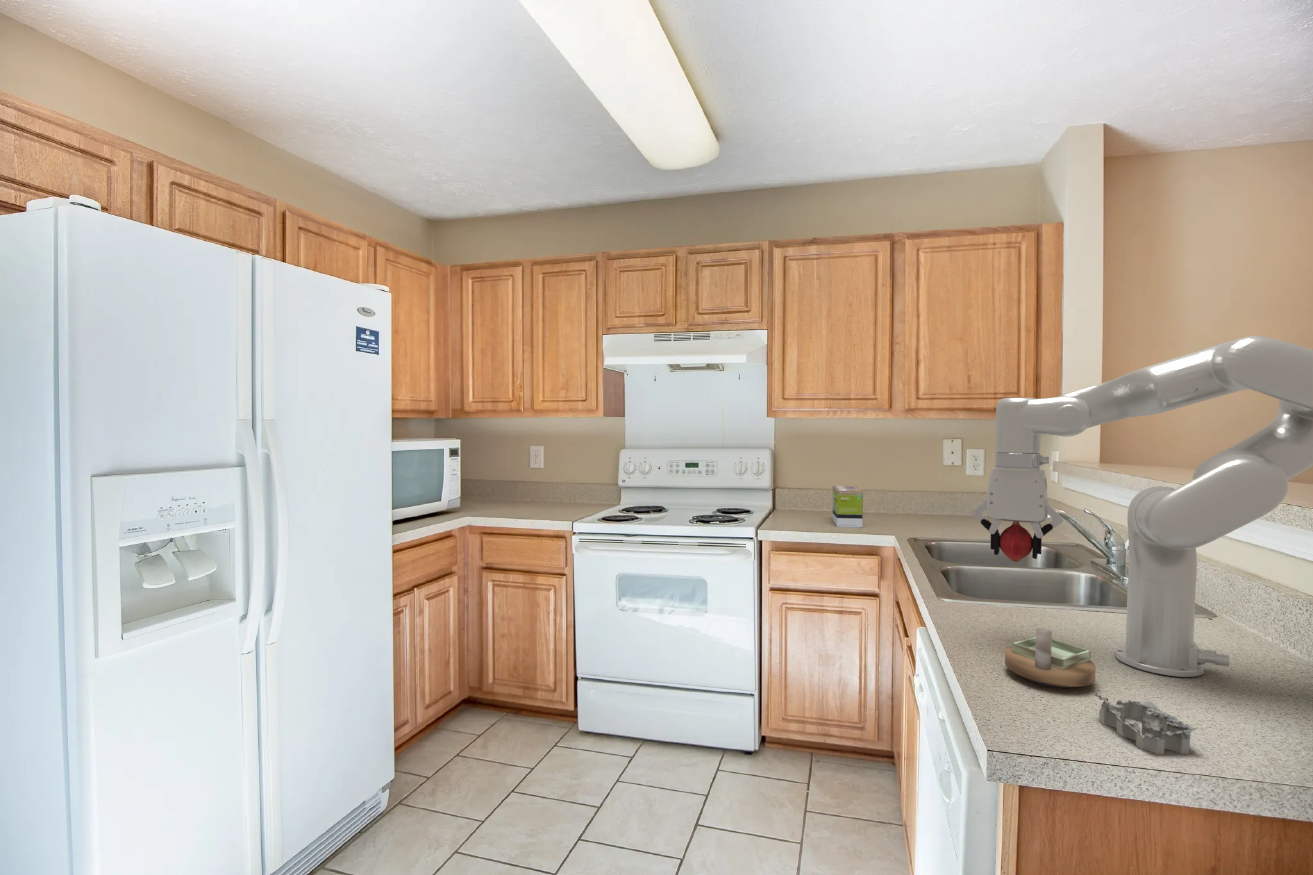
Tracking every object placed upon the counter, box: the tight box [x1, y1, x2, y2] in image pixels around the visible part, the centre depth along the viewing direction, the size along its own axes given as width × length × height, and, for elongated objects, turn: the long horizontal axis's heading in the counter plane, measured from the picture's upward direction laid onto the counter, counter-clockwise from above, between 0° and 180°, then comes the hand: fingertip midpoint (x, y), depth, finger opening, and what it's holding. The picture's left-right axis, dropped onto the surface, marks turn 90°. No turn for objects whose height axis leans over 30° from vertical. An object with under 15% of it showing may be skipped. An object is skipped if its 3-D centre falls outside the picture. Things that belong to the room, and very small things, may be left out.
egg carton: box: [1094, 692, 1198, 755], centre depth 90 cm, size 11×8×4 cm
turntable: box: [1004, 627, 1097, 688], centre depth 109 cm, size 13×13×8 cm
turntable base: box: [1023, 677, 1071, 689], centre depth 109 cm, size 8×8×1 cm
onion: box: [999, 521, 1033, 563], centre depth 125 cm, size 6×6×8 cm
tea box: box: [832, 485, 864, 529], centre depth 259 cm, size 15×10×15 cm, turn 172°
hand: (1015, 554), depth 125 cm, fingers closed on onion, 5 cm apart
